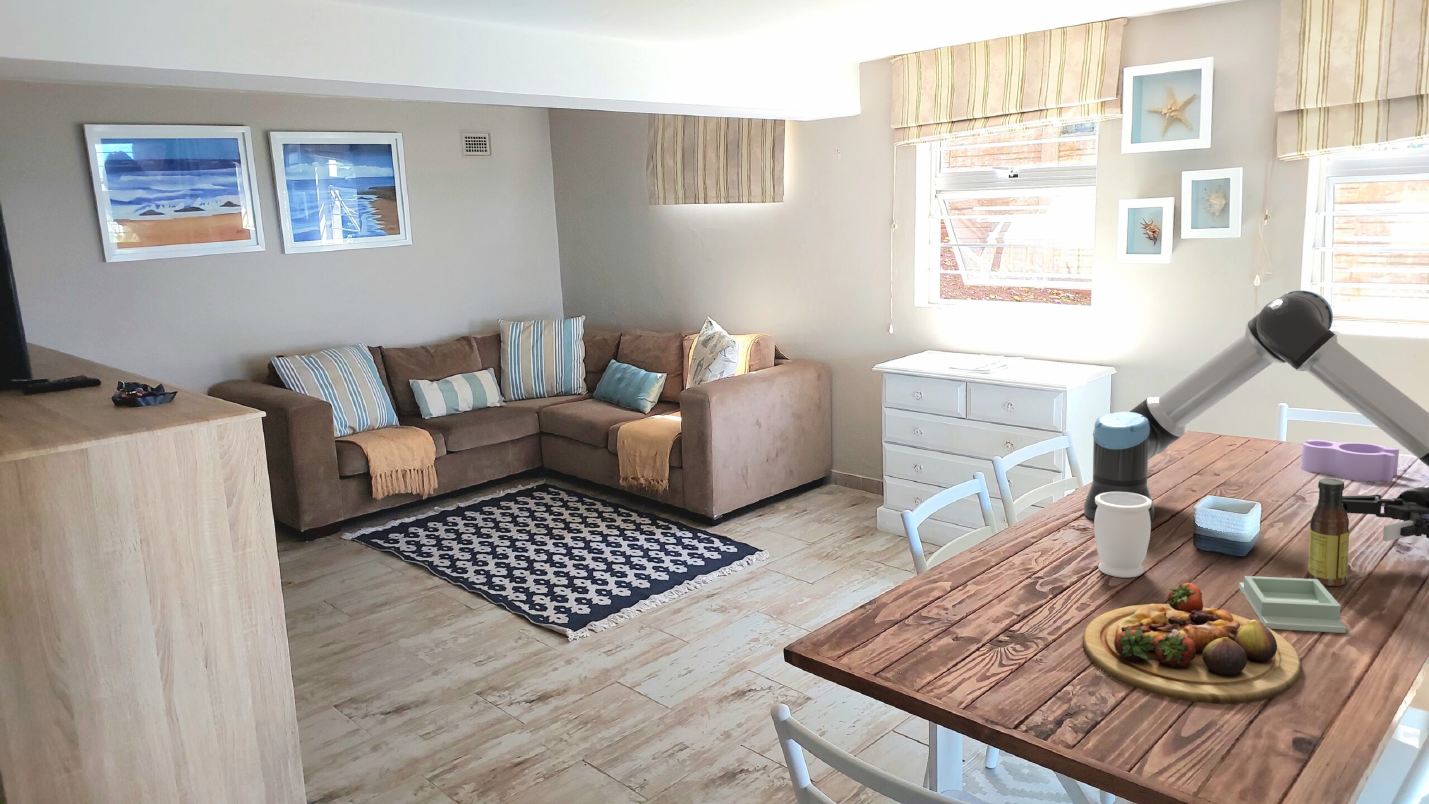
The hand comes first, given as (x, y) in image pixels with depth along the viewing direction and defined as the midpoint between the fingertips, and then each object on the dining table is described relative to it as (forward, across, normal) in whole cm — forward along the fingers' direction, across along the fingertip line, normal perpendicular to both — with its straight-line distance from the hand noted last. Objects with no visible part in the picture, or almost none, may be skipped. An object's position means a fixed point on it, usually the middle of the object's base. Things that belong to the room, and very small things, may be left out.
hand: (1349, 522), depth 181 cm
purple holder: (-62, -46, +11) cm, 78 cm away
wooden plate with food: (+50, +11, +12) cm, 52 cm away
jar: (+34, -22, +11) cm, 42 cm away
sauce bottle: (+5, 0, +11) cm, 12 cm away
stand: (+21, +6, +11) cm, 24 cm away
